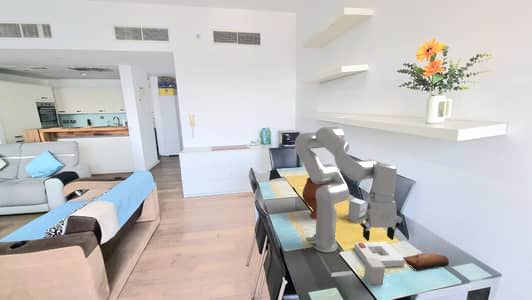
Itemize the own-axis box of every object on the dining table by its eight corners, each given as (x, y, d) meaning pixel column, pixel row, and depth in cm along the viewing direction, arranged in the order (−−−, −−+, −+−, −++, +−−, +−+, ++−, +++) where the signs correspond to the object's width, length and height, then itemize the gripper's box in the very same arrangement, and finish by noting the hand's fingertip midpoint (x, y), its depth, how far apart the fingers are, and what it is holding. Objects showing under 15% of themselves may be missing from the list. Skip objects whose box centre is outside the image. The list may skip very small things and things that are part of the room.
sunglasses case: (430, 253, 107) (439, 246, 103) (442, 268, 102) (451, 261, 98) (399, 258, 103) (407, 251, 99) (410, 274, 98) (418, 268, 93)
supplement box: (358, 223, 135) (360, 204, 133) (347, 219, 140) (348, 200, 138) (364, 220, 139) (366, 201, 137) (353, 215, 145) (355, 197, 143)
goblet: (299, 221, 137) (301, 182, 133) (303, 208, 155) (305, 174, 151) (331, 226, 132) (334, 185, 127) (332, 212, 150) (334, 176, 146)
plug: (370, 284, 87) (372, 267, 86) (364, 275, 92) (365, 258, 90) (382, 284, 87) (384, 266, 86) (375, 275, 92) (377, 258, 91)
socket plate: (368, 267, 96) (369, 259, 96) (354, 248, 110) (354, 241, 110) (404, 266, 98) (405, 258, 97) (385, 247, 111) (385, 240, 111)
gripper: (365, 200, 79) (361, 244, 82) (411, 200, 81) (405, 243, 83) (355, 193, 87) (352, 233, 89) (397, 192, 88) (393, 232, 91)
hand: (378, 238), depth 86 cm, fingers open, 9 cm apart
